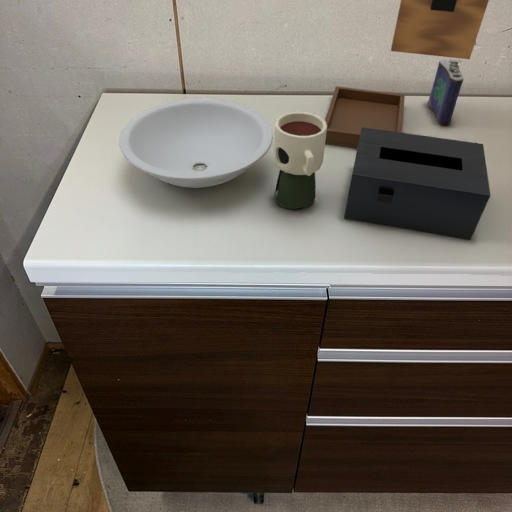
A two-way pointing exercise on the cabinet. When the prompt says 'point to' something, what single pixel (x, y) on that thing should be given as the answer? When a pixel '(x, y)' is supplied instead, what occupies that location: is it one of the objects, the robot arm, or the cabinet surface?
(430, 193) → the toaster
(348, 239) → the cabinet surface
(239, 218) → the cabinet surface
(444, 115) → the flask
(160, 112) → the white bowl
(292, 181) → the character mug
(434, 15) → the toast
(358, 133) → the tray
